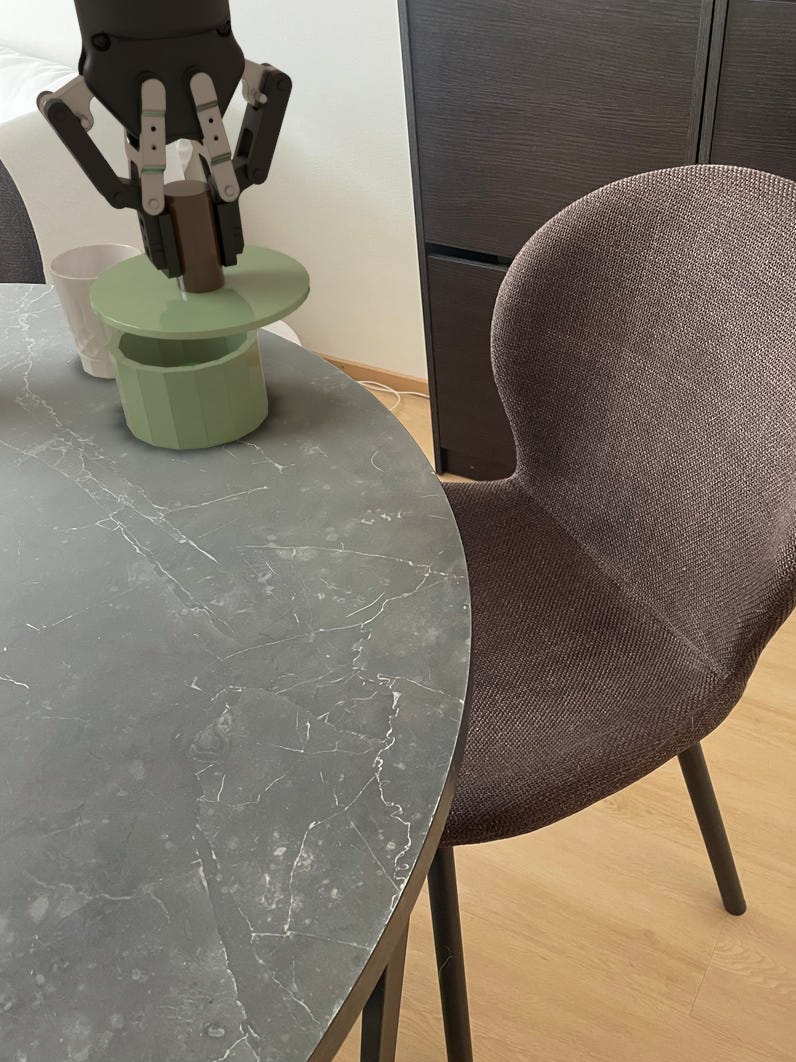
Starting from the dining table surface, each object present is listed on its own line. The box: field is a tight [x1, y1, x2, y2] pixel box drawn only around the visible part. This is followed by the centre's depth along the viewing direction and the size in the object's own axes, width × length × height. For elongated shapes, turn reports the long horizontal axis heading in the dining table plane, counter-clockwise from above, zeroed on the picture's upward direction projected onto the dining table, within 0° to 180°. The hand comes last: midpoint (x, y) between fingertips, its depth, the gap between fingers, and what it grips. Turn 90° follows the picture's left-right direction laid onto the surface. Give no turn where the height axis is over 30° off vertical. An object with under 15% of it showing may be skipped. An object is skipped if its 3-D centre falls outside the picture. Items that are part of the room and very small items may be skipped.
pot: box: [108, 329, 269, 451], centre depth 86 cm, size 12×12×8 cm
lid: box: [90, 179, 311, 340], centre depth 60 cm, size 13×13×7 cm
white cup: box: [48, 242, 144, 380], centre depth 92 cm, size 8×8×10 cm
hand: (197, 266), depth 61 cm, fingers closed on lid, 3 cm apart
